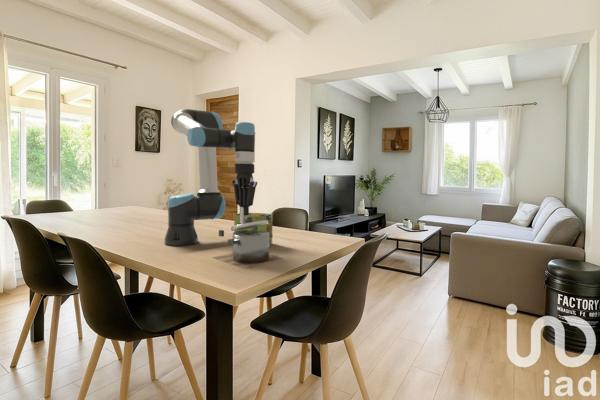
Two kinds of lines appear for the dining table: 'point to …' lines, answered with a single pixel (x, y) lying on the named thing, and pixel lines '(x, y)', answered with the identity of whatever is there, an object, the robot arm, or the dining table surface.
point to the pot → (250, 246)
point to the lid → (249, 224)
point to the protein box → (258, 218)
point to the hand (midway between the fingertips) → (244, 223)
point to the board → (229, 259)
